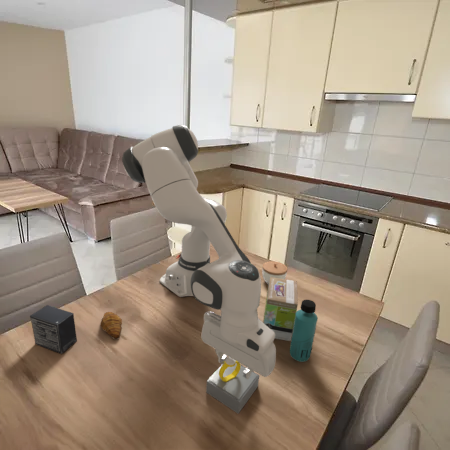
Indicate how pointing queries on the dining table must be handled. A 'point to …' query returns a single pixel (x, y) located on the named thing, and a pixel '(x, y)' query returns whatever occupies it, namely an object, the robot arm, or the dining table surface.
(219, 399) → the base
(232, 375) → the yellow ring-shaped piece
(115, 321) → the croissant
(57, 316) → the small box
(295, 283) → the tea box
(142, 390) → the dining table surface
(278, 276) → the lidded jar
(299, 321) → the beverage bottle
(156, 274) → the dining table surface
